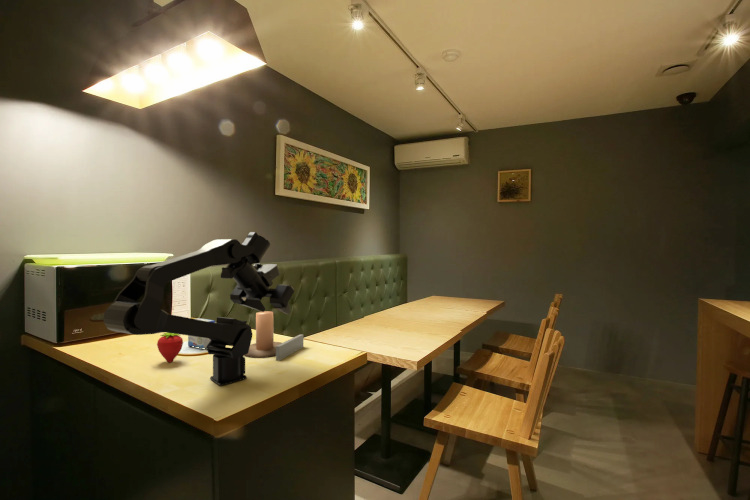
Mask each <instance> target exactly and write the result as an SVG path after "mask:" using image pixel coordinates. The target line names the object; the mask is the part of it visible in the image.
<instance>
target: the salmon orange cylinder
mask: <svg viewBox="0 0 750 500" xmlns="http://www.w3.org/2000/svg"><path fill="white" fill-rule="evenodd" d="M274 342H275V341H274V311H272V310H271V311H267V310H265V311H264V312H262V311H258V312H256V313H255V343H256V349H257V350H270V349H272V348H274Z"/></svg>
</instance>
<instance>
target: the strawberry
mask: <svg viewBox="0 0 750 500" xmlns="http://www.w3.org/2000/svg"><path fill="white" fill-rule="evenodd" d="M183 345H184V340H183V337H182V336H181V335H180V334H174V333H167V332H163V334H160V337H159V339H157V343H156V346H157V350H158V352H159V353H160V354H161V357H163V358H164V359H165V361H166V362H167V363H169V364H171V363H172V362H173V361H174V360H175V359H176V358H177V356H178V355H179V353H180V352H181V350H182V348H183Z"/></svg>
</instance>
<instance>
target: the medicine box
mask: <svg viewBox="0 0 750 500" xmlns="http://www.w3.org/2000/svg"><path fill="white" fill-rule="evenodd" d="M196 319H197V320H202V321H207V322H213V323H215V322H216V320H213V319H207V318H199V317H198V318H196ZM210 341H211V340H210V339H208V338H203V337H196V336H188V335H187V346H188V347H189V346H194V347H199V348H206V347H207V345H208V344H209V342H210Z"/></svg>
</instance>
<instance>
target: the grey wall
mask: <svg viewBox="0 0 750 500" xmlns="http://www.w3.org/2000/svg"><path fill="white" fill-rule="evenodd" d="M303 348H304V334H298V335H296V336H294V337H292V338H290V339H287V340H285V341H284V342H281V344H279V345H277V346H276V356H275V361H282V360H283V359H285V358H287V357H289V356H291V355H292V354H294V353H296V352H298V351H299V350H301V349H303Z"/></svg>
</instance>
